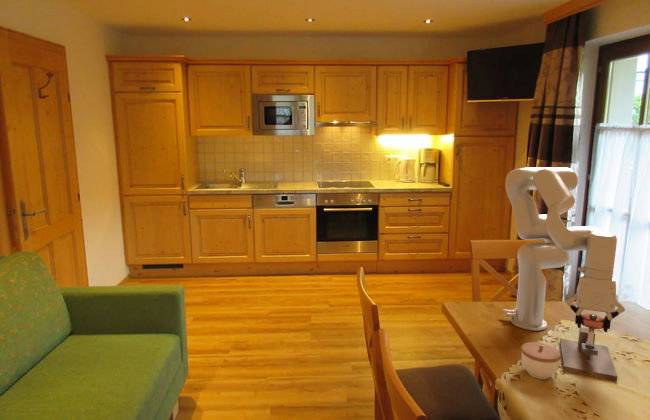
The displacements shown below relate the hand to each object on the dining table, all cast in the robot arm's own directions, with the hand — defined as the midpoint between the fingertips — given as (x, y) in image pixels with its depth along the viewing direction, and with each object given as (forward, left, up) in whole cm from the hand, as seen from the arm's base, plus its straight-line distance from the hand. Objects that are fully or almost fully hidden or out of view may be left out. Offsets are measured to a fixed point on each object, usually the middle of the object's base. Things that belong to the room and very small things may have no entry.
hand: (591, 327), depth 138 cm
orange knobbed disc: (0, 0, -10) cm, 10 cm away
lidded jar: (-14, -11, -13) cm, 22 cm away
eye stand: (0, +4, -13) cm, 13 cm away
